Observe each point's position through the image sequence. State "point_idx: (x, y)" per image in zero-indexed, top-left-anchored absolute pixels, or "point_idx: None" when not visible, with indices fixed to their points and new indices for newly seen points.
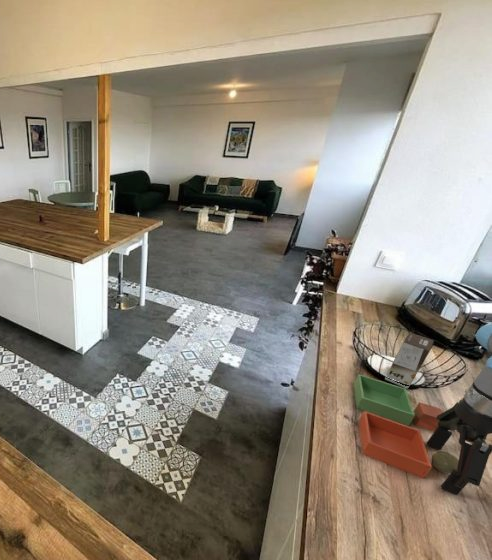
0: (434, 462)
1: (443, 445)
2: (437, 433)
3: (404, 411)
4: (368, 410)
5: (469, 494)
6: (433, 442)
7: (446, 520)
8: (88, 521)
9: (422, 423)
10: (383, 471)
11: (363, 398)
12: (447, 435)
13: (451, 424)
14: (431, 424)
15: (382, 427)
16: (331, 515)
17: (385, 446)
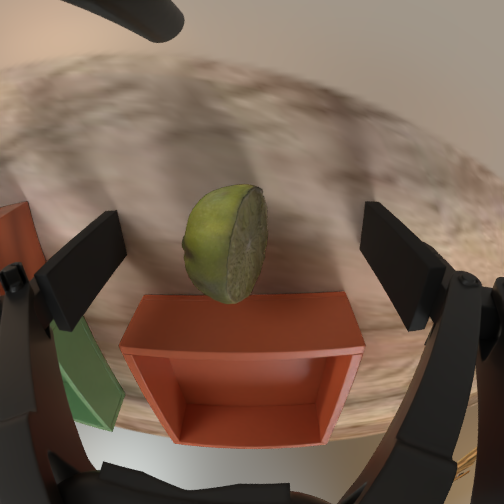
0: (257, 275)
1: (100, 224)
2: (83, 303)
3: None
4: (112, 383)
5: (341, 146)
6: (111, 257)
7: (472, 256)
8: (465, 456)
9: (32, 267)
10: (363, 370)
11: (111, 429)
12: (64, 275)
13: (93, 466)
14: (17, 248)
15: (172, 383)
16: (469, 397)
17: (254, 373)
